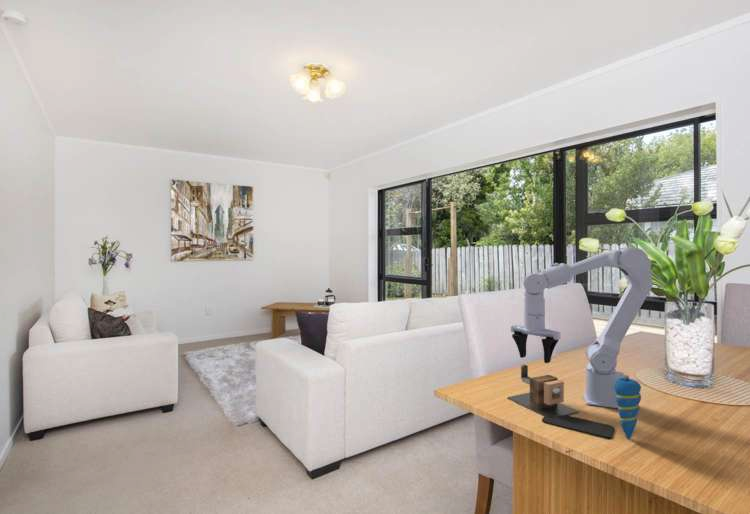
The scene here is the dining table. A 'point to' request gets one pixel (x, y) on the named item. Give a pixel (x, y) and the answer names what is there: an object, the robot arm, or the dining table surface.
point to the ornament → (627, 403)
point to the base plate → (547, 411)
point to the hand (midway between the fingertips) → (534, 359)
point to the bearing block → (539, 391)
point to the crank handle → (527, 379)
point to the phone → (581, 425)
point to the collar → (548, 392)
